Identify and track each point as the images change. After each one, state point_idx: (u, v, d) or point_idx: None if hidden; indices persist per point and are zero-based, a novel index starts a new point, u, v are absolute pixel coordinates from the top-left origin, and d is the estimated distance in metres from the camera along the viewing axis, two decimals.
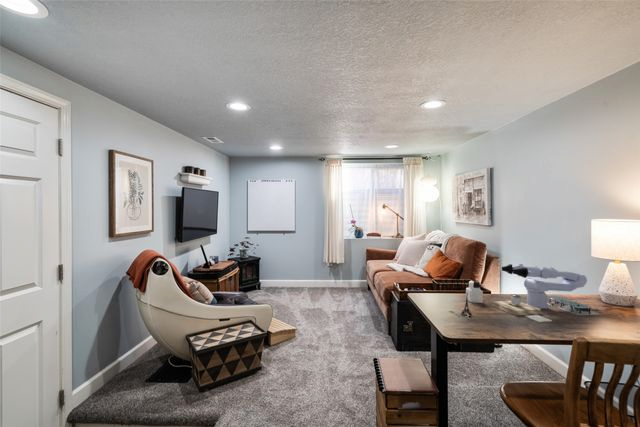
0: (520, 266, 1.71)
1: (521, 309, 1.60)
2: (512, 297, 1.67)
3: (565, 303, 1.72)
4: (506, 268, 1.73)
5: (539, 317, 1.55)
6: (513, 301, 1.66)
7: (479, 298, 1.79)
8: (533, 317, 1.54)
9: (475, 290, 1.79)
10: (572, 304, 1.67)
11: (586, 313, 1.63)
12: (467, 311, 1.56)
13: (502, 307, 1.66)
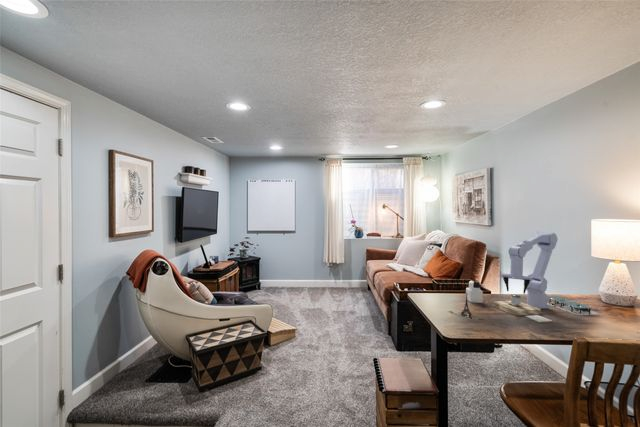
0: (516, 277, 1.65)
1: (521, 309, 1.60)
2: (512, 297, 1.67)
3: (565, 303, 1.72)
4: None
5: (539, 317, 1.55)
6: (513, 301, 1.66)
7: (479, 298, 1.79)
8: (533, 317, 1.54)
9: (475, 290, 1.79)
10: (572, 304, 1.67)
11: (586, 313, 1.63)
12: (467, 311, 1.56)
13: (502, 307, 1.66)
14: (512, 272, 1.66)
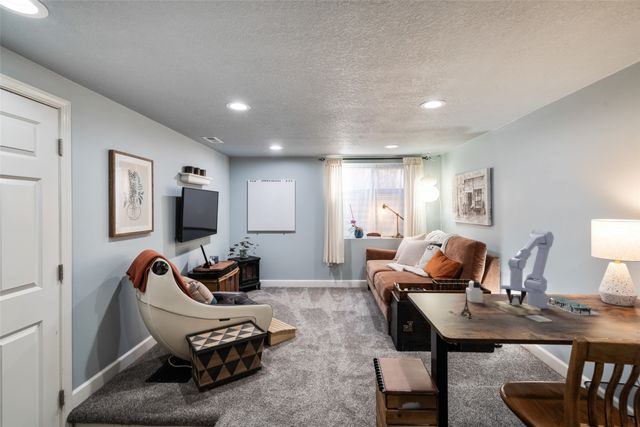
0: (516, 289, 1.65)
1: (521, 309, 1.60)
2: (512, 297, 1.67)
3: (565, 303, 1.72)
4: (510, 298, 1.68)
5: (539, 317, 1.55)
6: (513, 301, 1.66)
7: (479, 298, 1.79)
8: (533, 317, 1.54)
9: (475, 290, 1.79)
10: (572, 304, 1.67)
11: (586, 313, 1.63)
12: (467, 311, 1.56)
13: (502, 307, 1.66)
14: (512, 284, 1.66)
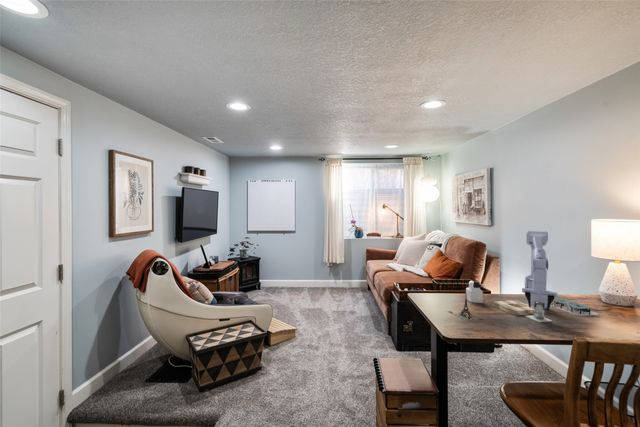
0: (539, 293, 1.51)
1: (521, 309, 1.60)
2: (536, 304, 1.53)
3: (565, 303, 1.71)
4: (530, 301, 1.55)
5: None
6: (537, 309, 1.52)
7: (479, 298, 1.79)
8: (533, 317, 1.54)
9: (475, 290, 1.79)
10: (572, 304, 1.66)
11: (586, 313, 1.62)
12: (466, 311, 1.56)
13: (502, 307, 1.66)
14: (535, 287, 1.53)
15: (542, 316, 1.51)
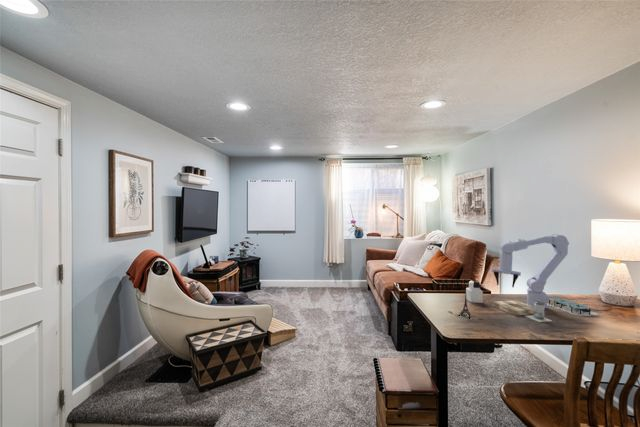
0: (505, 272, 1.76)
1: (521, 309, 1.60)
2: (536, 304, 1.53)
3: (565, 304, 1.71)
4: (498, 280, 1.80)
5: None
6: (537, 309, 1.52)
7: (479, 298, 1.79)
8: (533, 317, 1.54)
9: (475, 290, 1.79)
10: (572, 305, 1.66)
11: (586, 314, 1.62)
12: (466, 311, 1.56)
13: (502, 307, 1.66)
14: (502, 267, 1.78)
15: (542, 316, 1.51)
